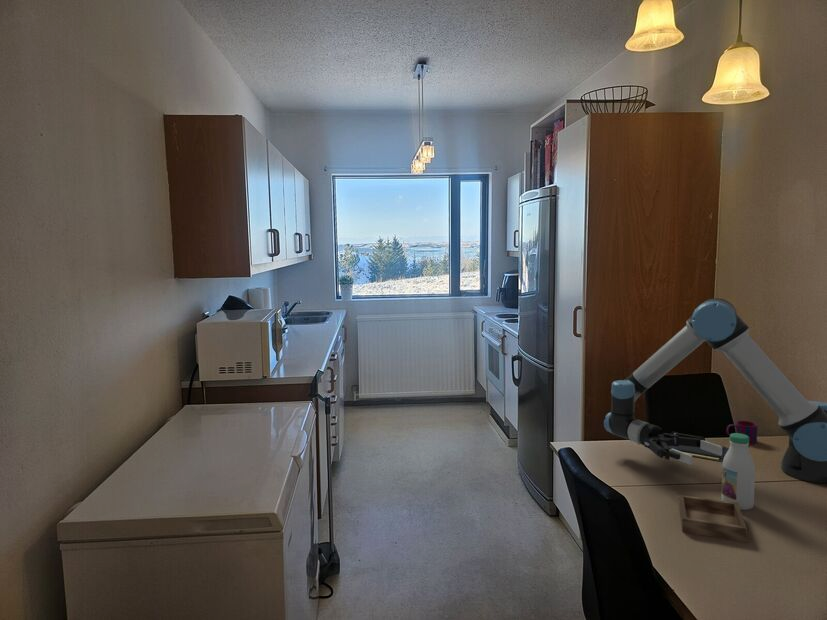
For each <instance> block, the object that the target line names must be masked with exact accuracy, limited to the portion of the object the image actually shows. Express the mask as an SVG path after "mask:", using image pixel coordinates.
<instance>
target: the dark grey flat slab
mask: <svg viewBox="0 0 827 620" xmlns="http://www.w3.org/2000/svg"><path fill="white" fill-rule="evenodd" d="M675 443H676V441H675ZM718 445H719V444H718ZM719 446H722V455H721V456H720V455H717V454H714V453H711V452H708V451H705V450H702V449H700V447H692V446H682V445H679V446H669V449H670V451H671V449H672V448H673V449H675V450H678V451H681V452H684V453H686V454H689V455H692V458H695V459H703V460H708V461H713V462H718V463H723V459H724V457H725V455H726V453H727V451H728V450H729V447H726V446H724V445H721V444H720V445H719Z"/></svg>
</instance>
